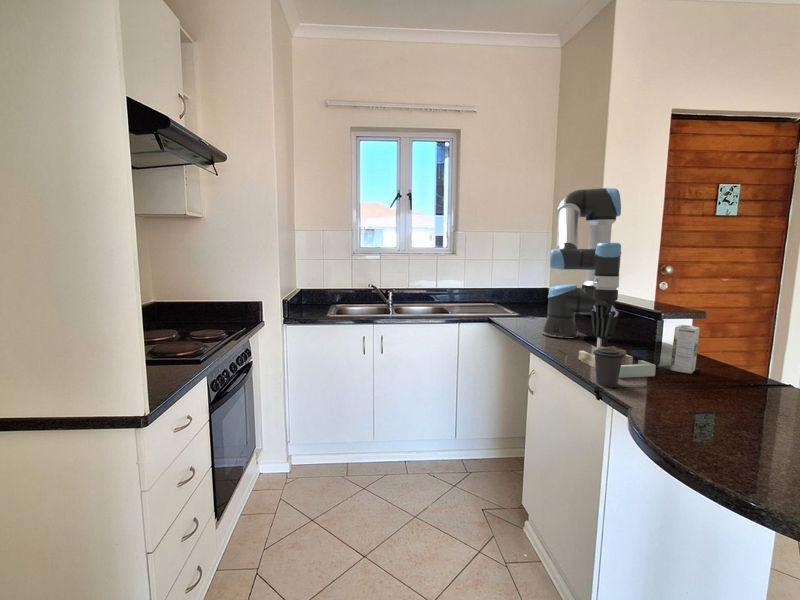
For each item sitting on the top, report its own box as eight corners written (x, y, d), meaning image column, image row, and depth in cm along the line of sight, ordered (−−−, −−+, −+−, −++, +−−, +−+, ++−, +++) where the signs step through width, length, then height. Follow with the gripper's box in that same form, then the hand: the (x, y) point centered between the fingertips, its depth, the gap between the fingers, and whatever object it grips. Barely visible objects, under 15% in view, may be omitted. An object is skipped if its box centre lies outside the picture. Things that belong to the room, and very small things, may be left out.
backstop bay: (604, 372, 126) (605, 361, 126) (641, 370, 128) (642, 360, 128) (616, 377, 121) (617, 366, 120) (654, 376, 123) (655, 365, 122)
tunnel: (578, 360, 140) (578, 350, 140) (611, 359, 142) (612, 349, 142) (596, 368, 130) (597, 358, 130) (632, 367, 132) (632, 356, 132)
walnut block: (596, 364, 135) (597, 347, 135) (612, 363, 136) (613, 346, 136) (608, 369, 130) (609, 351, 129) (625, 368, 130) (626, 350, 130)
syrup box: (674, 367, 132) (677, 324, 131) (696, 370, 128) (700, 326, 126) (670, 370, 128) (673, 326, 127) (692, 374, 124) (696, 329, 122)
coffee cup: (629, 387, 112) (631, 353, 111) (603, 389, 111) (605, 354, 110) (609, 378, 120) (611, 346, 119) (585, 379, 119) (587, 347, 118)
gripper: (584, 287, 140) (580, 352, 143) (608, 290, 128) (603, 361, 130) (603, 286, 141) (599, 351, 144) (629, 290, 129) (624, 361, 132)
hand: (601, 356), depth 137 cm, fingers closed
